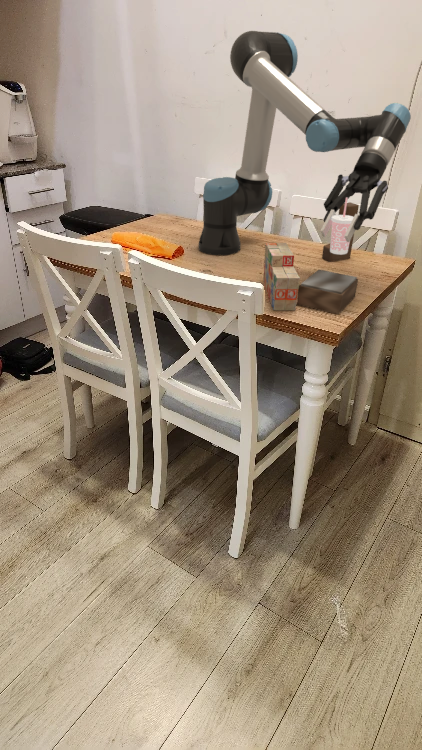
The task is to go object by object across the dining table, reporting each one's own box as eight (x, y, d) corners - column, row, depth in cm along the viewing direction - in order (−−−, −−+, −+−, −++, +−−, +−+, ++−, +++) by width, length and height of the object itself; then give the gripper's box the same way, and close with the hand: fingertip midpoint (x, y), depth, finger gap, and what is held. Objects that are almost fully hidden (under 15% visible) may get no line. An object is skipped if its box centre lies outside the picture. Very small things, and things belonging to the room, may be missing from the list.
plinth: (296, 304, 133) (299, 283, 130) (315, 288, 143) (317, 268, 140) (339, 314, 128) (342, 293, 125) (355, 296, 138) (358, 276, 135)
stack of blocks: (296, 311, 130) (301, 266, 123) (273, 311, 129) (277, 266, 123) (282, 281, 148) (286, 241, 141) (262, 282, 147) (265, 241, 141)
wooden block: (329, 262, 163) (337, 207, 154) (321, 258, 167) (328, 204, 157) (350, 258, 167) (359, 204, 157) (341, 254, 170) (350, 201, 161)
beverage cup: (322, 251, 130) (329, 197, 122) (334, 246, 133) (342, 193, 126) (343, 257, 126) (351, 201, 119) (354, 251, 130) (363, 197, 123)
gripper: (411, 174, 125) (372, 252, 123) (343, 166, 135) (306, 237, 133) (408, 154, 118) (366, 235, 116) (337, 147, 129) (298, 221, 127)
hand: (334, 236), depth 125 cm, fingers closed on beverage cup, 6 cm apart
